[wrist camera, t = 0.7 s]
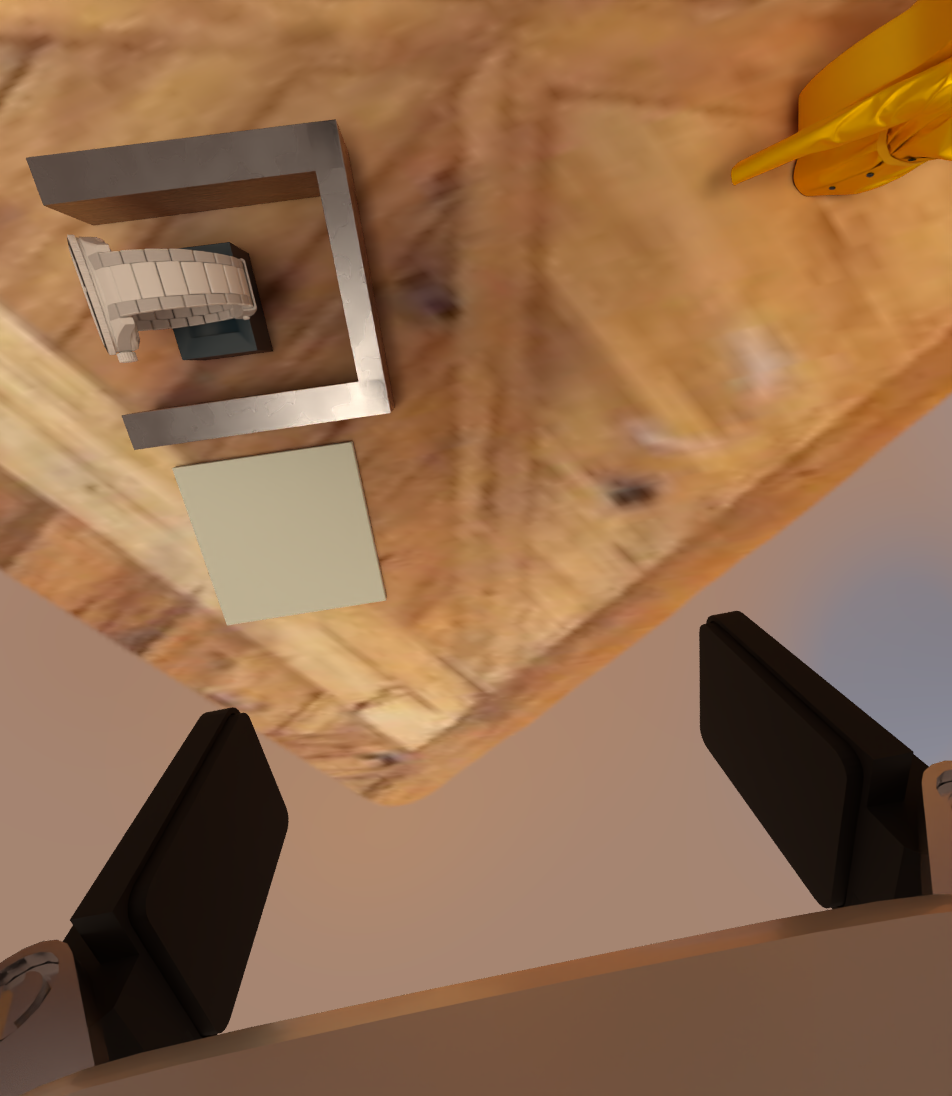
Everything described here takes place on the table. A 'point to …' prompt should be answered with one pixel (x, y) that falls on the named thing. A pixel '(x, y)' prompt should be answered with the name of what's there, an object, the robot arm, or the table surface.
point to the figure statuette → (872, 109)
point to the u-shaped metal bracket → (224, 182)
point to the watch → (173, 298)
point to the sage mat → (284, 531)
